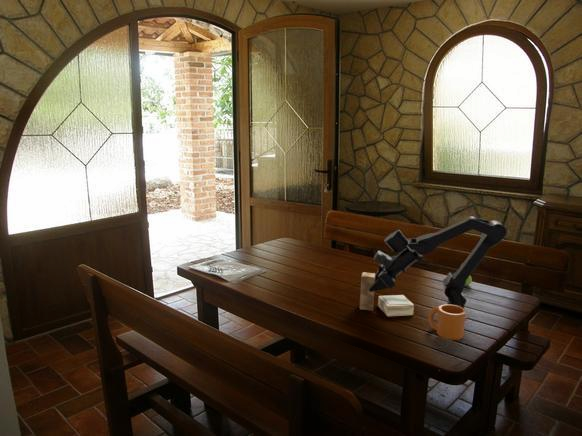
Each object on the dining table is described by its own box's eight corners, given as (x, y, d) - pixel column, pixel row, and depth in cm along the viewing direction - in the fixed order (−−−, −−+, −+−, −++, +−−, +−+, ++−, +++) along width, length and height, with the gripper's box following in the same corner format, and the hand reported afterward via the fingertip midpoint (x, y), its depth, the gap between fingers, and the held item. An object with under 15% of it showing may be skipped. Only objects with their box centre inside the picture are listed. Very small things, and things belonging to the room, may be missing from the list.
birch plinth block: (413, 315, 176) (414, 304, 175) (387, 316, 174) (388, 305, 173) (402, 304, 186) (403, 294, 185) (377, 305, 184) (378, 295, 183)
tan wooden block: (373, 305, 184) (375, 273, 181) (372, 310, 179) (375, 277, 176) (360, 304, 185) (362, 271, 182) (359, 309, 180) (361, 276, 177)
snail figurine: (474, 288, 205) (477, 261, 203) (458, 286, 207) (461, 260, 204) (472, 284, 211) (475, 258, 208) (457, 282, 212) (459, 256, 209)
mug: (436, 322, 170) (439, 299, 168) (468, 334, 161) (471, 309, 159) (422, 330, 164) (425, 305, 162) (455, 342, 155) (457, 316, 153)
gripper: (388, 238, 184) (357, 263, 189) (387, 252, 166) (354, 278, 171) (407, 260, 184) (376, 284, 189) (408, 275, 167) (374, 301, 171)
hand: (370, 286), depth 180 cm, fingers open, 9 cm apart
